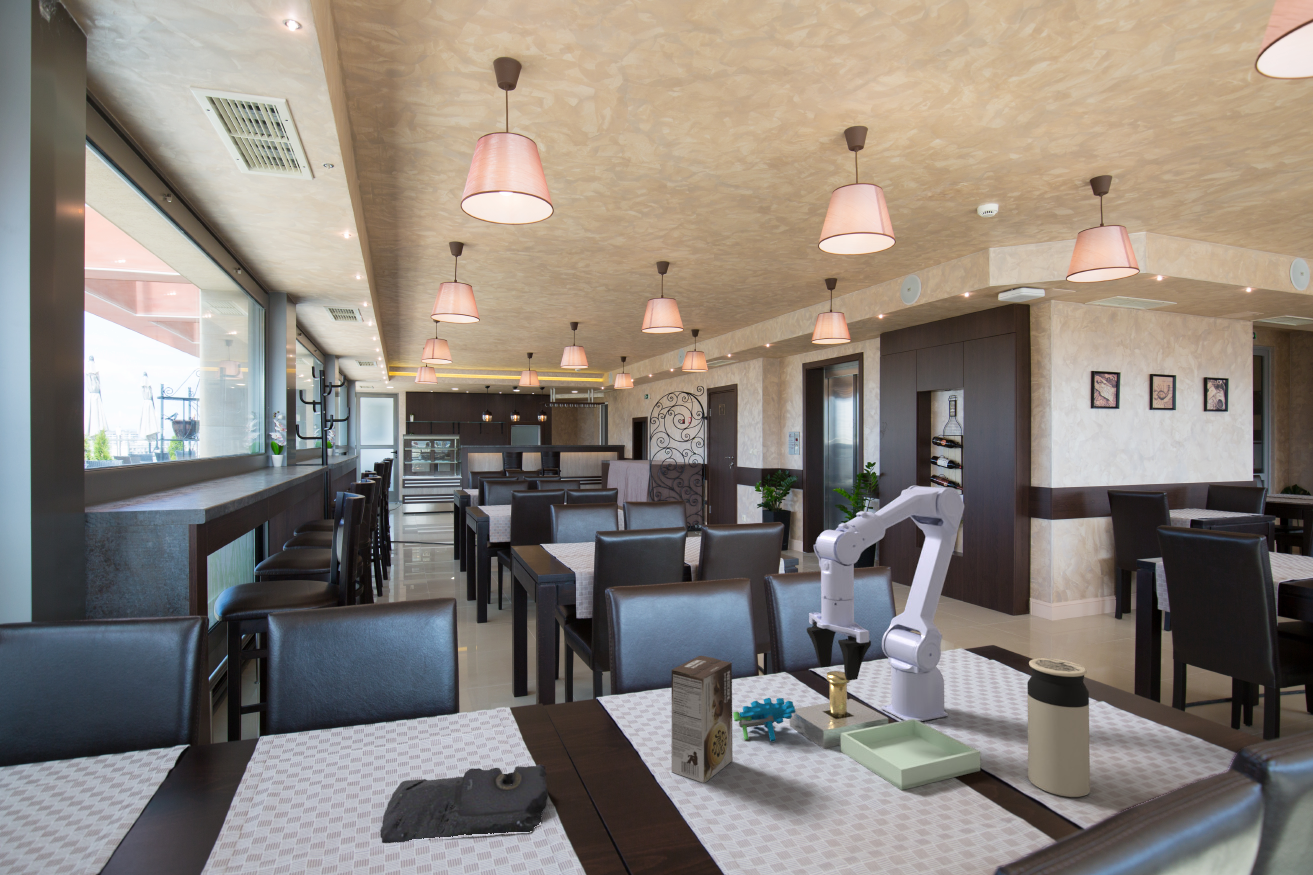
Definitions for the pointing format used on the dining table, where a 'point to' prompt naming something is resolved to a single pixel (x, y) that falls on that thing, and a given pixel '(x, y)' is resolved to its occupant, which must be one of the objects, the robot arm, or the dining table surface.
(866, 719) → the pin bracket
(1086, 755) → the travel mug
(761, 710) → the gear
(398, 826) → the dark slate chunk
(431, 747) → the dining table surface
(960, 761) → the parts tray
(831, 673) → the pin
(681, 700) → the coffee box
